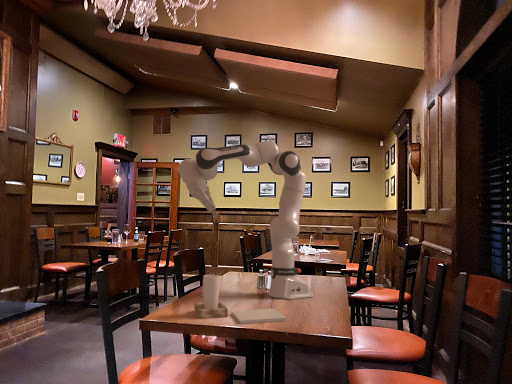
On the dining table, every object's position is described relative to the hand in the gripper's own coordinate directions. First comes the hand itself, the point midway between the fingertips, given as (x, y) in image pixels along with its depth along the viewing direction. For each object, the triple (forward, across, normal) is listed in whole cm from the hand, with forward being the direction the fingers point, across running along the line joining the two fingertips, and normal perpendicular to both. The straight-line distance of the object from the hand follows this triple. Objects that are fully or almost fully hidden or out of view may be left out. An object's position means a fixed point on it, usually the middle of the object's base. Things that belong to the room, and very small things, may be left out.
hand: (213, 213), depth 169 cm
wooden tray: (+38, -6, +21) cm, 44 cm away
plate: (+49, -7, +5) cm, 50 cm away
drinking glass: (+38, -6, +21) cm, 44 cm away
